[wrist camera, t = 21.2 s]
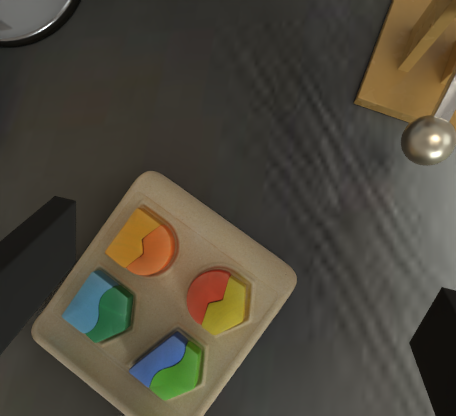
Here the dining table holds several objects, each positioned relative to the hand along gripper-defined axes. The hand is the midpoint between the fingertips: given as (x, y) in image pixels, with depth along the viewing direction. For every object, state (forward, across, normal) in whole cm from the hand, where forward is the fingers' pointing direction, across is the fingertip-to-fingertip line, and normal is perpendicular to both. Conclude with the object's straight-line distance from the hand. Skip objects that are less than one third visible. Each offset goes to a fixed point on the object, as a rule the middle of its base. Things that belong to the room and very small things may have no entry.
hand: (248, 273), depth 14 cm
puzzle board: (+16, -6, -18) cm, 25 cm away
